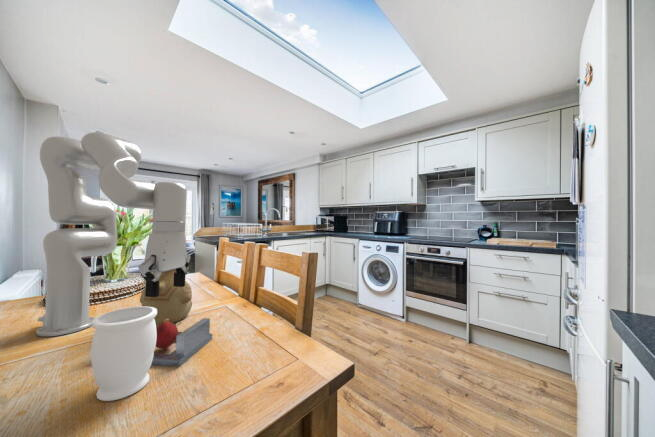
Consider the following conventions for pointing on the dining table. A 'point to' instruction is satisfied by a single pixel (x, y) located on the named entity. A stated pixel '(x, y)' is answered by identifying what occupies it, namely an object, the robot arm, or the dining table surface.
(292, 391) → the dining table surface
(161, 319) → the ceramic vessel
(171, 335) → the onion
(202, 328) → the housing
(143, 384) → the jar
